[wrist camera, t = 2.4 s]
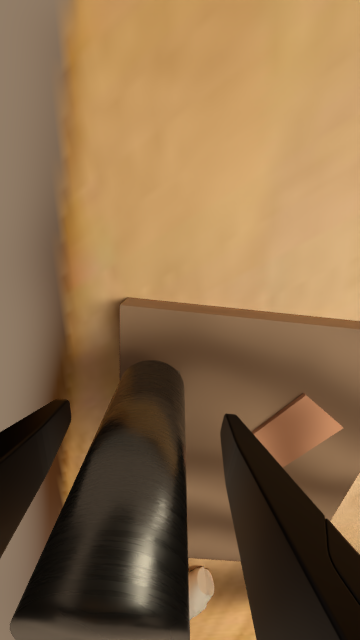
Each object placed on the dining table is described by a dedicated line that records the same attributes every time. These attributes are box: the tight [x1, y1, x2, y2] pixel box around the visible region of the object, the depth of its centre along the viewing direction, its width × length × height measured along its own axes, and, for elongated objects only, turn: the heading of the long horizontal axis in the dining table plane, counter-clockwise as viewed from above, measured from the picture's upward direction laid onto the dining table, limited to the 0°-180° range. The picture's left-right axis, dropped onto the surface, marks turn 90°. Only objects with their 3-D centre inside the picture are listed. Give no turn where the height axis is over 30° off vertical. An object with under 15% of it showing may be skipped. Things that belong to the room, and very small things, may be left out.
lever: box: [10, 360, 190, 640], centre depth 10 cm, size 19×4×8 cm, turn 174°
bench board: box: [120, 298, 360, 561], centre depth 13 cm, size 22×16×4 cm
